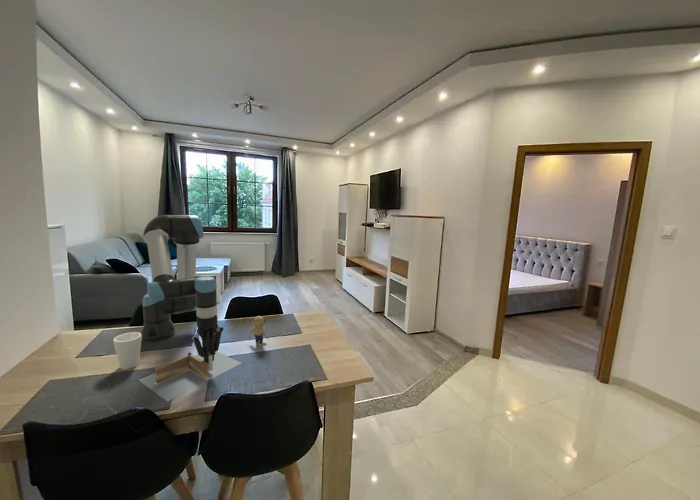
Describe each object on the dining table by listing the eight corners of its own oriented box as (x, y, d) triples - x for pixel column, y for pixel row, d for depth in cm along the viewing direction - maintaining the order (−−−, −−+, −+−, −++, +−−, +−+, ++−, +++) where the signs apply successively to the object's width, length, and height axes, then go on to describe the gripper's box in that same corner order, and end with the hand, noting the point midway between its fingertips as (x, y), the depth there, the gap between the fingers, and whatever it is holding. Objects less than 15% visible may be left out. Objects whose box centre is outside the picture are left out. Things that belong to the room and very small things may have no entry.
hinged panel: (190, 366, 123) (190, 352, 122) (208, 377, 116) (208, 361, 115) (188, 367, 122) (187, 353, 121) (205, 378, 115) (205, 363, 114)
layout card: (138, 381, 113) (138, 380, 113) (211, 349, 139) (211, 348, 139) (167, 402, 102) (167, 401, 102) (241, 364, 128) (241, 363, 128)
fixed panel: (156, 382, 112) (155, 368, 111) (187, 368, 122) (186, 355, 121) (157, 384, 111) (156, 369, 110) (188, 369, 121) (188, 356, 120)
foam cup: (120, 361, 126) (117, 333, 124) (145, 358, 130) (143, 330, 128) (112, 373, 117) (109, 343, 115) (140, 369, 121) (137, 340, 119)
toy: (273, 344, 146) (273, 316, 144) (265, 349, 141) (265, 320, 139) (254, 339, 151) (253, 312, 149) (246, 343, 146) (245, 315, 144)
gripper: (215, 308, 123) (218, 359, 127) (185, 318, 112) (188, 373, 116) (227, 312, 119) (228, 365, 123) (196, 322, 109) (199, 380, 112)
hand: (209, 369), depth 120 cm, fingers closed
